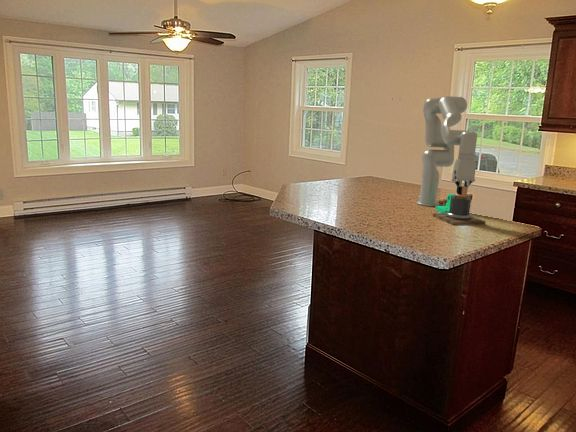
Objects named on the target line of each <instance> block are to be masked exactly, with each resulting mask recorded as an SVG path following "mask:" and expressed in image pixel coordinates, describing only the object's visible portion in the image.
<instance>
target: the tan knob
mask: <svg viewBox="0 0 576 432" xmlns="http://www.w3.org/2000/svg"><path fill="white" fill-rule="evenodd" d="M461 187H462V191H461V195H459V194H457V192H455V193H454V194H455V196H457V198H459V199H466V197H468V198H469V194H468V190H467V189H468V187H465V186H464V185H463V184H462V185H461Z"/></svg>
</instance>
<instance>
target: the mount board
mask: <svg viewBox="0 0 576 432" xmlns="http://www.w3.org/2000/svg"><path fill="white" fill-rule="evenodd" d="M432 217H434V218H437V219H438V220H441V221H442V220H443V222H445V223H447V224H449V223H450V224H449V225H451V224H452V226H455V225H454V224H476V225H485V224H486V220H483V219H480V218H478V217H476V216H473V215H472V217H471V219H470V220H456V219H451V218H448V217H446V213H439V212H437V213H433V214H432Z"/></svg>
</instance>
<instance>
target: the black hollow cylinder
mask: <svg viewBox="0 0 576 432" xmlns="http://www.w3.org/2000/svg"><path fill="white" fill-rule="evenodd" d="M471 203H472V198H471V197H469V196H468V197H466V199H459V198H457V196H451V201H450V210H449V211H447V213H446V217H448V218H451V219H456V220H470V219H471V217H472V216H473V214H472V213H470V212H471V211H470V210H471V205H472V204H471Z"/></svg>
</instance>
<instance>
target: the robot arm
mask: <svg viewBox="0 0 576 432" xmlns="http://www.w3.org/2000/svg"><path fill="white" fill-rule="evenodd" d="M467 108H468V103H467V100H466V99H465V97H462V96H454V95H453V96H452V95H449V96H443V97H431V98H427V99H426V100H425V101H424V104H423V110H422V113H423V117H424V121H425V130H424V131H425V134H424V135H425V137H424V138H425V139H424V140H425V145H426V146H427V147H429V148H439V149H427V150H425V151H424V152H423V153H422V157H421V158H422V159H421V160H422V161H421V162H422V173H421V181H420V193H419V195H418V197H417V198H418V200H416V204H417V205H419V206H423V207H425V206H426V207H436V206H440V203H439V202H437V200H438V191H439V183H440V172H439V170H438V169H437V167H439V168H441V167H442V168H444V167H445V168H447V167H451V166H453V164H454V166H453V170H452V176H451V182H453V183H454V184H455V185H456V193H457V194H459V195H461V191H462V187H461V185H462V186H465V187H470V185H471V184H473V183H475V182H476V179H475V177H476V160H475V158H477V155H476V148H477V143H478V142H477V140H478V133H477V132H476V131H470V130H460V129H451V127H454V126H456V125H457V124H459V122H460V121H461V120H462V114H463V113H464V112H466V110H467ZM437 114H438V115H442V118H443V121H441V119H440V118H439V116H438V115H437ZM455 146H459V148H458V153H457V154H458V156H457V159H456V160H455ZM440 148H442V149H440ZM454 160H455V161H454ZM463 181H464V182H463ZM467 191H468V189H467Z"/></svg>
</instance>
